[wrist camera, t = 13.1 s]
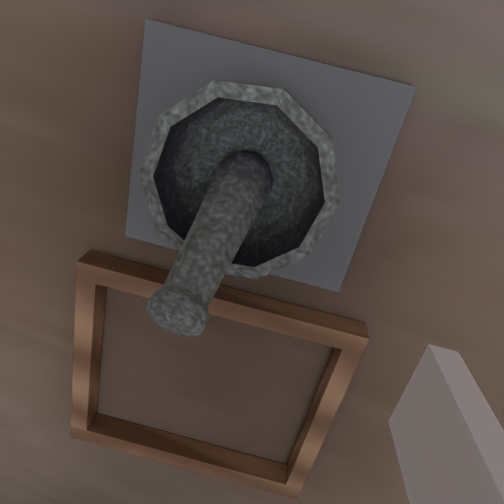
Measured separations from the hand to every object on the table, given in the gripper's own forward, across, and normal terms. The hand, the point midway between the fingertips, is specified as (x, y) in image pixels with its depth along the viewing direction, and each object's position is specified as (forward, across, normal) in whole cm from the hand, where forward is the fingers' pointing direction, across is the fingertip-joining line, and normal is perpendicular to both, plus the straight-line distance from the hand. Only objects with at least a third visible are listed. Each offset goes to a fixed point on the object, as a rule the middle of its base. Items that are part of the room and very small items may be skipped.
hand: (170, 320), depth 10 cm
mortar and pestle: (+17, 0, 0) cm, 17 cm away
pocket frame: (+18, 0, +18) cm, 26 cm away
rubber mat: (+18, 0, -1) cm, 18 cm away
